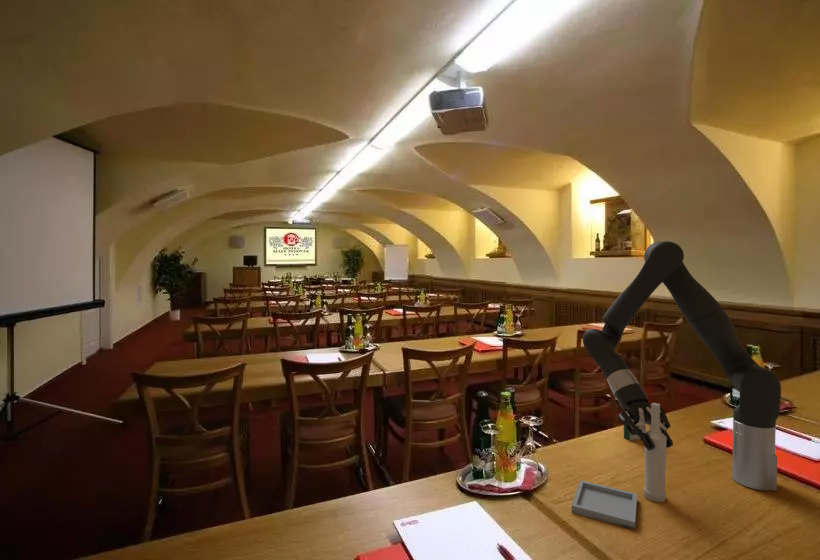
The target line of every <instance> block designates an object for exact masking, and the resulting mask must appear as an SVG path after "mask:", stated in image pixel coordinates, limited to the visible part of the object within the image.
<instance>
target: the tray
mask: <svg viewBox="0 0 820 560" xmlns="http://www.w3.org/2000/svg"><path fill="white" fill-rule="evenodd" d="M637 506H638V493H636V492H631V491H628V490H623V489H619V488H615V487H610V486H608V485H602V484H599V483H593V482H589V481H585V480H581V479H579V482H578V485H577V488H576V492H575V495H574V497H573V500H572V504H571V513H573V514H575V515H580V516H584V517H585V518H586V517H587V518H591V519H594V520H598V521H601V522H606V523H609V524H613V525H616V526H620V527H623V528H626V529H630V530H633V531H635V530H636V522H637V521H636V520H637V508H638V507H637Z"/></svg>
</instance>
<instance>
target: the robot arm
mask: <svg viewBox="0 0 820 560" xmlns="http://www.w3.org/2000/svg"><path fill="white" fill-rule="evenodd" d="M643 254H644V256H643V259H644V263H643V266H642V267H641V268H640V271H638V274H637V275H636V276H635V278H633V280H632V281H631V283H629V284H628V286H627V287H626V288H625V289H624V290H622V292H621V293H620V294H619V295H618V296H617V297H616V298H615V299H614V301H613V302H612V303H611V305H610V306H609V308H608V309H607V310H606V312H604V314H603V316H602V321H603V323H604V325H603V327H602V329H601V330H600V329H597V328H590V329H587V330H586V331H585V332H584V333H583V336H582V344H583V346H584V349H585V351H586V352H587V354H589V355H590V357H591V359H593V361H594V362H595V363H596V364H597V365H598V367H599V368H600V370H601V372H602V374H603V377H604V378H605V379H606V381H607V383H608V386H609V387H610V390H611V391H612V394H613V396H614V397H615V399H616V401H617V402H618V405H619V406H620V407H621V409H623V410H622V411H621V412H620V413H619V414H618V415H617V419H618V420H619V421H620V422H621V424H622V425H623V427H624V426H625V427H626V429H627V430H628V431H629V433H630V434H631V435H637V436H639V437H640V439H639V440H641V442H642V444H643V445H644V446H645V447H646V448H647V449H648V450H652V449H654V448H655V445H654V443H653V442H652V440H651V438H650V436H649V435H648V433H646V432H647V429H645V424H646V425H647V426H649V427H650V428H651V404H650V402H649V398H648V397H649V396H648V395H647V393H646V392H645V390H644V388H643V386H642V385H641V383H640V382H639V380H638V379H637V377H636V376H635V375H634V373H633V372H632V371H631V370H630V368H629V366H628V365H627V363H626V362H625V360H624V358H623V357H622V356H621V355H620V354H618V353H617V352H616V351H614V350H615V349H616V348H617V346H618V344H619V342H620V340H621V338H622V336H623V333H624V331H625V329H626V327H627V326H628V325H629V324H630V323H631V321H632V320H633V319H634V318H635V317H636V315H637V313H638V312H639V311H640V309H641V308H642V306H643V305H644V304H645V303H646V301H647V300H648V299H649V298H650V296H651V295H652V294H653V293H654V291H655V290H656V289H657V288H658V287H659V286H660V285H661V284H663V285H664V286H665V287H666V289H667V290H668V291H669V293H670V294H671V297H672V299H673V300H674V302H675V304H676V306H677V307H678V309H679V310H680V312H681V313H682V315H683V316H684V318H685V320H686V321H687V322H688V324H689V325H690V327H692V329H693V330H694V332H695V334H696V335H697V336H698V337H699V339H700V340H701V341H702V342H703V344H704V345H705V346H706V347H707V348H708V349H709V351H711V353H712V354H713V356H714V357H715V358H716V360H717V362H718V363H719V365H720V366H721V368H722V370H723V372H724V373H725V375H726V377H727V379H728V381H729V382H730V384H731V385H732V387H733V388H734V389H735V390H736V391H737V392H738V393H739V398H738V399H739V401H738V407H735V408H734V409H733V412H732V413H733V415H732V466H731V467H732V468H731V472H732V475H731V476H732V479H733V481H734V482H737V484H740V485H741V486H744V487H747V488H750V489H753V490H758V491H775V492H777V491H778V490H777V489H778V456H777V454H776V430H777V429H776V426H777V425H776V423H777V420H778V418H779V416H780V411H781V402H782V386H781V385H782V384H781V381H780V378H779V377H778V376H777V375H776V373H774V372H773V371H771V370H770V369H768V368H765V367H763V366H761V365H759V364H758V363H757V362H756V361H755V359H753V358H752V357H751V355H750V354H749V353H748V352H747V351H746V349H745V348H744V346H743V345H742V344H741V342H740V340H739V338H738V334H737V332H736V328H735V327H734V324H733V322H732V320H731V318H730V316H729V315H728V314H727V313H726V311H725V309H724V308H723V307H722V306H721V304H720V303H719V302H718V301H717V299H716V298H715V297H714V296H713V295H712V294H711V293H710V292H709V291H708V290H707V289H706V288H705V287H704V286H703V285H702V284H701V283H700V282H699V281H698V280H697V279H696V278H694V276H693V274H691V273H690V271H689V270H688V268H687V266H686V265H685V264H684V258H685V256H684V255H685V253H684V251H683V249H682V247H681V246H680V245H679V244H678V243H676V242H673V241H669V240H668V241H667V240H665V241H656V242H653V243H651V244H650V245H649V246H647V248H646V249H645V251H644V253H643ZM631 419H632V420H631ZM630 426H631V427H632V428H633V429H632V428H631V427H630ZM670 428H671V424H670V421H669V419H668V417H667V414H666V412H665V410H664V408H663V407H662V406H660V430H661V432H662V433H663V434H664V435H665V436H666V437H667V442H666V449H668V448H671V447H672V446H674V441H673V440H672V438H671V436H670V435H669V434H668V432H667V430H668V429H670ZM644 446H643V447H644Z"/></svg>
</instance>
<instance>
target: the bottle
mask: <svg viewBox="0 0 820 560" xmlns="http://www.w3.org/2000/svg"><path fill="white" fill-rule="evenodd" d="M650 405H651V427H650V428H649V429H648V430H646V433H648V435H649V436H650V438H651V440H652V442H653V443H654V445H655V448H654V449H652V450H648V449H647V448H646V447H645V446H643V447H644V450H643V452H644V487H643V495H644V497H645V498H646V499H648V500H649V501H652V502H655V503H663V502H665V501H666V498H667V492H666V470H667V469H666V465H667V448H666V442H667V437H666V436H665V435H664V434H663V433H662V432H661V430H660V407H661V404H660V403H657V402H651V404H650Z"/></svg>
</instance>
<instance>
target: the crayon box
mask: <svg viewBox="0 0 820 560" xmlns="http://www.w3.org/2000/svg"><path fill="white" fill-rule="evenodd" d="M631 420H632V419H631ZM646 425H647V424H645V429H646V428H647V426H646ZM630 427H631V426H630ZM631 428H632V427H631ZM632 429H633V428H632ZM646 430H647V429H646ZM623 438H624V439H625V440H626V441H630V442H632V441H636V440H641V439H640V437H639V436H637V435H631V434H630V433H629V431H628V430H627V429H626V427H625V426H624V425H623Z"/></svg>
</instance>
